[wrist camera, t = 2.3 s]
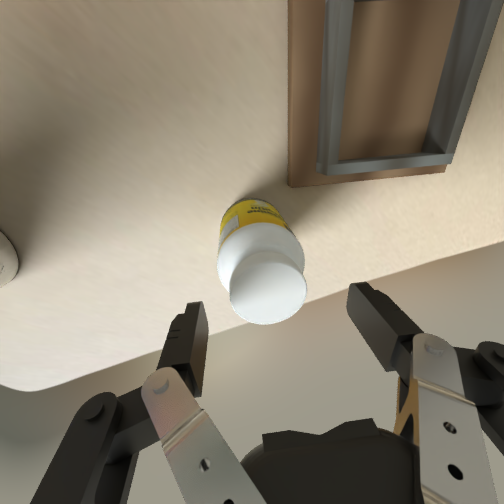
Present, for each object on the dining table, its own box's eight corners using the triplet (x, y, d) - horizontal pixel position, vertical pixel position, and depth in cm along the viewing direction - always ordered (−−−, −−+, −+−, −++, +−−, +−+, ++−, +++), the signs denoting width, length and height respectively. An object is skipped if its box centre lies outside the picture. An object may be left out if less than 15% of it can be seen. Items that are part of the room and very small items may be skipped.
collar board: (287, 184, 22) (300, 193, 18) (288, -24, 15) (306, -75, 11) (431, 170, 22) (470, 176, 19) (490, -33, 16) (566, -83, 12)
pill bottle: (291, 233, 24) (340, 302, 14) (243, 263, 25) (255, 349, 15) (259, 183, 21) (290, 223, 11) (207, 220, 22) (190, 289, 12)
